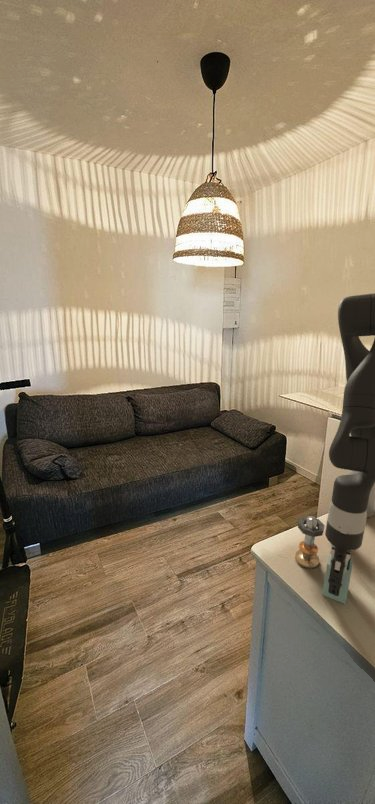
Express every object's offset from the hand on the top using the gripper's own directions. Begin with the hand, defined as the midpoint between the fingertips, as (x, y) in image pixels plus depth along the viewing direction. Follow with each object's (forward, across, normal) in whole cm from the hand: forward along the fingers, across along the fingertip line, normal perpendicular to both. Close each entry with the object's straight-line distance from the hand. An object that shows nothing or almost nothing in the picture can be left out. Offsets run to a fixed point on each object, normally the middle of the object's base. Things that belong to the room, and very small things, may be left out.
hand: (336, 580), depth 78 cm
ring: (-7, -7, -8) cm, 12 cm away
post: (+3, -7, -8) cm, 11 cm away
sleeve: (+3, 0, 0) cm, 3 cm away
